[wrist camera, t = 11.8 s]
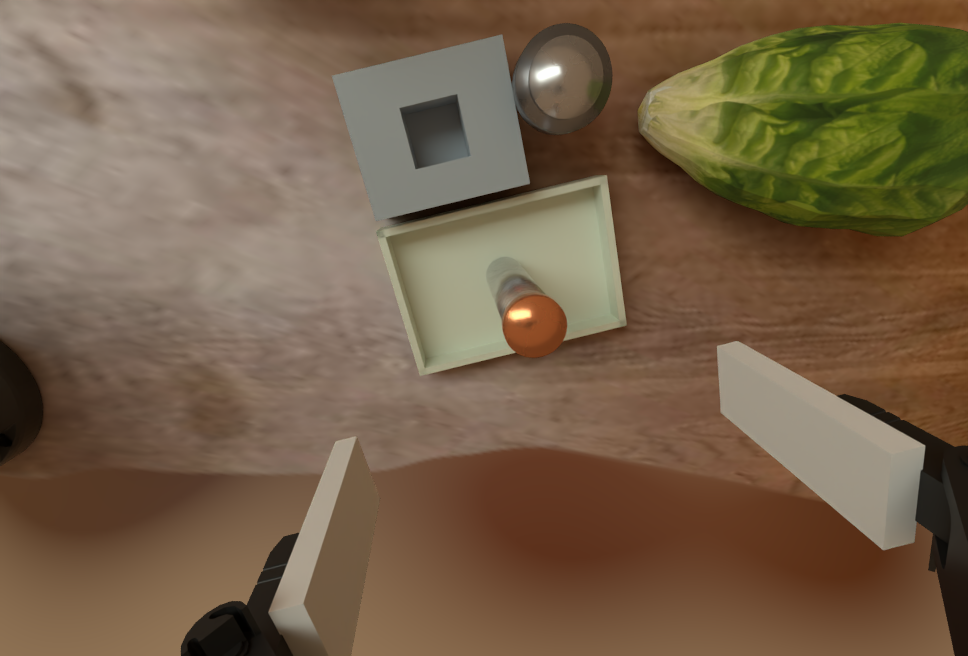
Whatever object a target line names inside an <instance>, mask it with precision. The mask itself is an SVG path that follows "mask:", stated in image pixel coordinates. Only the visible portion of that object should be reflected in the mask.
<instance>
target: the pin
mask: <svg viewBox="0 0 968 656" xmlns="http://www.w3.org/2000/svg"><path fill="white" fill-rule="evenodd" d="M486 280H487V283H488V286H489V288H490V291H491V294H492V296H493V299H494V301H495V304H496V307H497V309H498V312H499V314H500V317H501V320H502V331H503V334H504V337H505V339H506V342H507V343H508V345H509V346H510V348H511V349H512V350H513V351H515V352H516V353H518V354H520V355H522V356H525V357H530V358H537V357H542V356H546V355H548V354H550V353H551V352H553V351H554V350H556V349H557V348H558V347H559V346H560V344H561V343H562V342H563V340H564V338H565V335H566V332H567V319H566V315H565V313H564V311H563V309H562V308H561V307H560V306H559V304H558V303H557V302H556V301H555V300H554V299H553V298H551V297H550V296H548V295H546V294H545V293H544V292H543V291H542V290H541V288H540V287H539V286H538V285H537V284H536V282H535V281H534V280H533V279H532V278H531V276H530V275H529V274H528V273H527V272H526V270H525V269H524V268H523V267H522V266H521V264H520V263H519V262H518V261H517V260H515V259H513V258H511V257H500V258H497V259H495V260H494V261H493V262H491V264H490V265H489V266H488V268H487V272H486Z"/></svg>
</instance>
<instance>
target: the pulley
mask: <svg viewBox="0 0 968 656" xmlns="http://www.w3.org/2000/svg"><path fill="white" fill-rule="evenodd" d="M611 85H612V66H611V61H610V58H609V55H608V52H607V50H606V48H605V46H604V45H603V43H602V42H601V41H600V39H599V38H598V37H597V36H596V35H595V34H594V33H593V32H591V31H590V30H588V29H586V28H584V27H582V26H579V25H576V24H570V23H562V24H556V25H553V26H550V27H548V28H546V29H544V30H542V31H541V32H539V33H538V34H537V35H536V36H535V37H533V38H532V40H531V41H530V42H529V43H528V45H527V46H526V48H525V49H524V51H523V52H522V54H521V56H520V57H519V59H518V61H517V64H516V66H515V69H514V74H513V81H512V90H513V97H514V101H515V104H516V107H517V109H518V111H519V113H520V115H521V116H522V117H523V119H524V120H525V121H526V122H527V123H528V124H529V125H530V126H531V127H533V128H534V129H536V130H537V131H540V132H542V133H545V134H549V135H562V134H567V133H570V132H573V131H576V130H579V129H581V128H583V127H585V126H586V125H588V124H589V123H591V122H592V121H593V120H594V119H595V118H596V117H597V116H598V115H599V114H600V112H601V111H602V109H603V108H604V106H605V104H606V102H607V100H608V97H609V94H610V91H611Z"/></svg>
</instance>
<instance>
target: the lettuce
mask: <svg viewBox="0 0 968 656" xmlns="http://www.w3.org/2000/svg"><path fill="white" fill-rule="evenodd" d="M638 129H639V132H640V134H641V135H642V136H643V137H644V138H645V139H646V140H647V141H648V143H649V144H651V145H652V146H653V147H654V148H655V149H656V150H657V151H658V152H659V153H661V154H662V155H663V156H665V157H666V158H668V159H669V160H671V161H672V162H674V163H675V164H677V165H678V166H680V167H681V168H682V169H683V170H684V171H686V172H687V173H688V174H689V175H690V176H691V177H692V178H693V179H694V180H695V181H697V182H698V183H699V184H701V185H703V186H704V187H706V188H707V189H709V190H710V191H712V192H713V193H715V194H716V195H719V196H721V197H723V198H725V199H727V200H730V201H732V202H734V203H736V204H739V205H742V206H745V207H748V208H751V209H754V210H757V211H760V212H762V213H764V214H766V215H768V216H770V217H773V218H775V219H777V220H779V221H781V222H784V223H788V224H792V225H797V226H805V227H817V228H829V229H851V230H855V231H859V232H863V233H866V234H870V235H874V236H904V235H907V234H909V233H911V232H914V231H916V230H918V229H921V228H923V227H926V226H928V225H930V224H933V223H935V222H937V221H939V220H941V219H943V218H945V217H947V216H949V215H951V214H953V213H955V212H957V211H959V210H962V209H963V208H964V207H965V206H966V205H967V204H968V32H966V31H963V30H960V29H954V28H947V27H940V26H932V25H920V24H908V23H893V24H881V25H870V26H837V25H826V26H816V27H807V28H798V29H794V30H790V31H786V32H783V33H779V34H775V35H771V36H768V37H765V38H762V39H759V40H756V41H753V42H751V43H748V44H745V45H742V46H739V47H737V48H735V49H733V50H731V51H730V52H728V53H726V54H724V55H722V56H720V57H718V58H716V59H714V60H712V61H709V62H707V63H704V64H701V65H699V66H696V67H693V68H691V69H688V70H686V71H683V72H680V73H678V74H677V75H675V76H673V77H671V78H669V79H667V80H665V81H663V82H662V83H660V84H658V85H657V86H655V87H653V88H652V89H650V90H649V91H648V92H647V94H646V96H645V98H644V99H643V101H642V103H641V105H640V107H639V109H638Z"/></svg>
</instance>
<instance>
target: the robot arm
mask: <svg viewBox="0 0 968 656" xmlns="http://www.w3.org/2000/svg"><path fill="white" fill-rule="evenodd" d="M717 356H718V372H719V389H720V406H721V413H722V414H723V415H724V416H725V417H727V418H728V419H729V420H730V421H731V422H733V423H734V424H735V425H736V426H737V427H738V428H740V429H741V430H742V431H743V432H744V433H746V434H747V435H748V436H749V437H750V438H751V439H753V440H754V441H755V442H756V443H757V444H759V445H760V446H761V447H762V448H763V449H764V450H766V451H767V452H768V453H769V454H770V455H772V456H773V457H774V458H775V459H776V460H777V461H779V462H780V463H781V464H782V465H783V466H784V467H786V468H787V469H788V470H789V471H790V472H792V473H793V474H794V475H795V476H796V477H797V478H799V479H800V480H801V481H802V482H803V483H805V484H806V485H807V486H808V487H809V488H810V489H812V490H813V491H814V492H815V493H816V494H818V495H819V496H820V497H821V498H822V499H823V500H825V501H826V502H827V503H828V504H829V505H831V506H832V507H833V508H834V509H835V510H836V511H838V512H839V513H840V514H841V515H843V516H844V517H845V518H846V519H847V520H848V521H849V522H851V523H852V524H853V525H854V526H856V527H857V528H858V529H859V530H860V531H861V532H863V533H864V534H865V535H866V536H867V537H868V538H870V539H871V540H872V541H873V542H874V543H876V544H877V545H878V546H879V547H880V548H881V549H883V550H886V549H890V548H893V547H898V546H902V545H906V544H909V543H913V542H914V540H915V532H916V523H917V522H918V523H919V524H921V525H922V526H924V527H925V528H927V529H928V530H929V531H931V532H932V533H933V538H932V546H931V554H930V561H929V569H928V570H930V571H933V572H935V570H936V569H937V574H938V579H939V583H940V588H941V593H942V598H943V602H944V607H945V612H946V617H947V621H948V626H949V631H950V636H951V640H952V645H953V650H954V654H955V656H968V446H957V447H954V446H952V445H950V444H948V443H946V442H944V441H943V440H941V439H939V438H937V437H935V436H933V435H931V434H929V433H927V432H926V431H924V430H922V429H920V428H918V427H916V426H914V425H912V424H910V423H909V422H907V421H905V420H900V418H899V417H897V416H895V415H893V414H891V413H890V412H887V413H886V411H885V410H884V409H882V408H880V407H878V406H876V405H874V404H873V403H871V402H869V401H867V400H863V399H860V398H856V397H853V396H850V395H846V394H843V395H839V396H835V395H834V394H832V393H830V392H828V391H826V390H825V389H823V388H821V387H819V386H818V385H816V384H814V383H812V382H810V381H809V380H807V379H805V378H803V377H801V376H800V375H798V374H796V373H794V372H792V371H791V370H789V369H787V368H785V367H783V366H782V365H780V364H778V363H776V362H774V361H773V360H771V359H769V358H767V357H765V356H764V355H762V354H760V353H758V352H757V351H755V350H753V349H751V348H749V347H748V346H746V345H744V344H742V343H740V342H739V341H736V342H732V343H728V344H724V345H720V346H717ZM42 414H43V410H42V400H41V396H40V393H39V390H38V387H37V385H36V382H35V380H34V378H33V377H32V375H31V373H30V372H29V370H28V369H27V367H26V366H25V365H24V364H23V362H22V361H21V360H20V359H19V358H18V357H17V356H16V355H15V354H14V353H13V352H12V351H11V350H10V349H9V348H8V347H7V346H5V345H4V344H3V343H2V342H0V466H1V465H3V464H4V463H6V462H7V461H9V460H10V459H12V458H13V457H15V456H16V455H18V454H19V453H21V452H22V451H24V450H25V449H26V448H27V447H28V446H29V445H30V444H31V443H32V442H33V440H34V439H35V437H36V435H37V434H38V431H39V429H40V426H41V422H42ZM379 501H380V497H379V494H378V491H377V489H376V486H375V484H374V481H373V478H372V475H371V473H370V470H369V467H368V465H367V462H366V459H365V457H364V454H363V451H362V449H361V446H360V443H359V441H358V438H357V436H355V437H351V438H347V439H343V440H339V441H336V442H335V444H334V447H333V449H332V452H331V454H330V457H329V459H328V462H327V464H326V467H325V469H324V472H323V475H322V477H321V480H320V482H319V485H318V487H317V490H316V492H315V495H314V498H313V500H312V503H311V505H310V508H309V510H308V513H307V515H306V518H305V520H304V523H303V525H302V528H301V531H300V533H296V534H292V535H288V536H285V537H283V538H282V539H281V541H280V542H279V543H278V544H277V545H276V546H275V548H274V549H273V550H272V551H271V552H270V555H269V557H268V559H267V561H266V564H265V566H264V568H263V572H261V575H260V577H259V579H258V582H257V585H256V586H255V588H254V590H253V592H252V595H251V597H250V599H249V601H248V603H247V605H245V604H244V603H243V602H241V601H231V602H228V603H225V604H222V605H219V606H218V607H216V608H214V609H213V610H211V611H209V612H208V613H206V614H205V615H204V616H203V617H202V618H201V619H199V620H198V621H197V622H196V623H195V624H194V626H193V627H192V628H191V629H190V631H189V632H188V633H187V635H186V636H185V639H184V641H183V643H182V645H181V656H351V652H352V647H353V642H354V636H355V631H356V626H357V620H358V615H359V609H360V604H361V599H362V593H363V588H364V583H365V576H366V572H367V566H368V561H369V555H370V550H371V545H372V539H373V534H374V529H375V523H376V518H377V512H378V507H379Z"/></svg>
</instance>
